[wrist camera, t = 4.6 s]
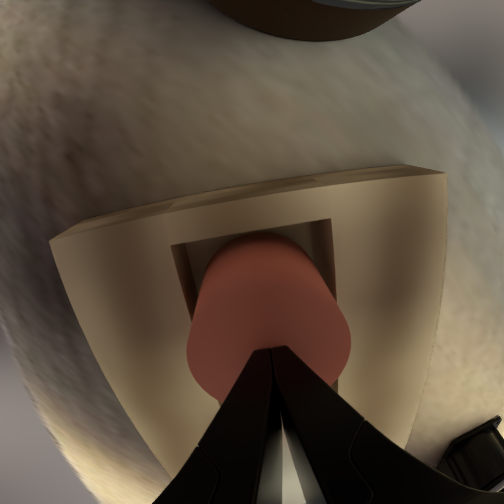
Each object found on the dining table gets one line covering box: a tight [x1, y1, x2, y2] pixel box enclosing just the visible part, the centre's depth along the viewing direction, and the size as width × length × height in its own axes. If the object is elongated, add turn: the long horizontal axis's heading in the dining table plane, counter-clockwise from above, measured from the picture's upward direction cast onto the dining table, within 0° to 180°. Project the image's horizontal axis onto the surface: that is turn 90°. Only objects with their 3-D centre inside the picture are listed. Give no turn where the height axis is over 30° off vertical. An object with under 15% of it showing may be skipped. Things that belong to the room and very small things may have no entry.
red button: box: [186, 232, 351, 403], centre depth 9 cm, size 4×4×4 cm
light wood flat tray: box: [49, 165, 448, 479], centre depth 14 cm, size 14×20×3 cm
